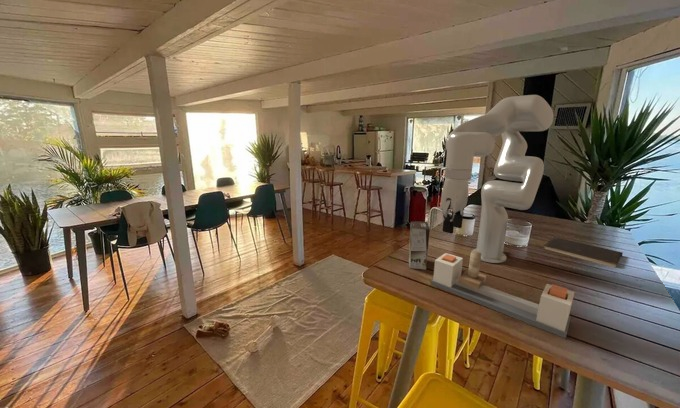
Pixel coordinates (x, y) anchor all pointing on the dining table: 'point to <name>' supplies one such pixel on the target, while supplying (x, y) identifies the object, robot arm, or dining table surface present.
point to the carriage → (473, 272)
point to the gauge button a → (449, 258)
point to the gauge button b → (558, 291)
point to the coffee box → (418, 245)
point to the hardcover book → (584, 251)
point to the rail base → (501, 307)
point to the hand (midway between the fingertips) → (452, 229)
